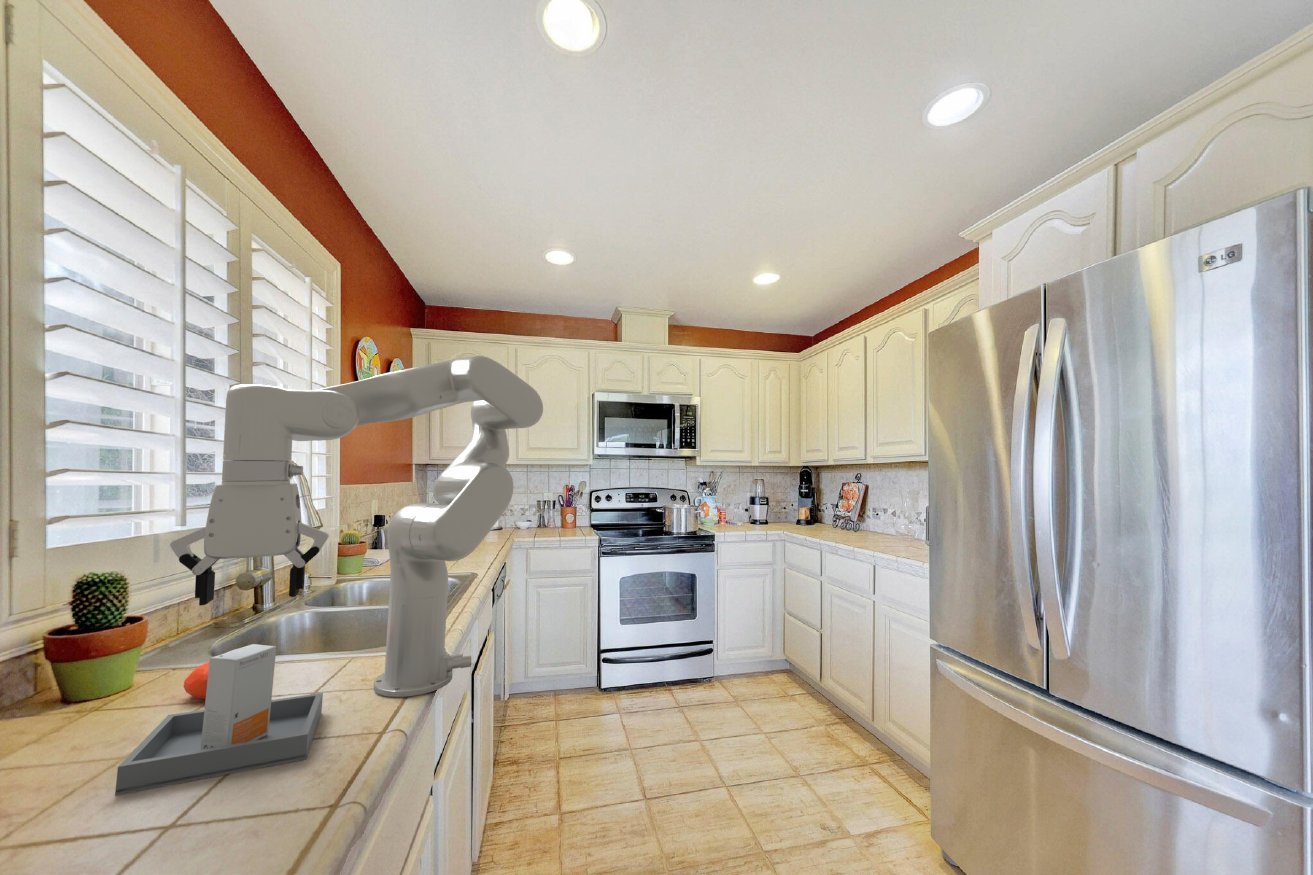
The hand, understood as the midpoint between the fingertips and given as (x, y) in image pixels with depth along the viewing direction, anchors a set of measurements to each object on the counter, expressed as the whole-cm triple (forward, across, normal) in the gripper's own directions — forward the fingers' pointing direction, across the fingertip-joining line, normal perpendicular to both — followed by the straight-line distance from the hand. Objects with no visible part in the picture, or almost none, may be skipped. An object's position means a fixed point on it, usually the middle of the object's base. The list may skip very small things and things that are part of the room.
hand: (251, 598), depth 70 cm
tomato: (+20, +9, -21) cm, 30 cm away
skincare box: (+19, +1, +1) cm, 19 cm away
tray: (+19, +1, +1) cm, 19 cm away
